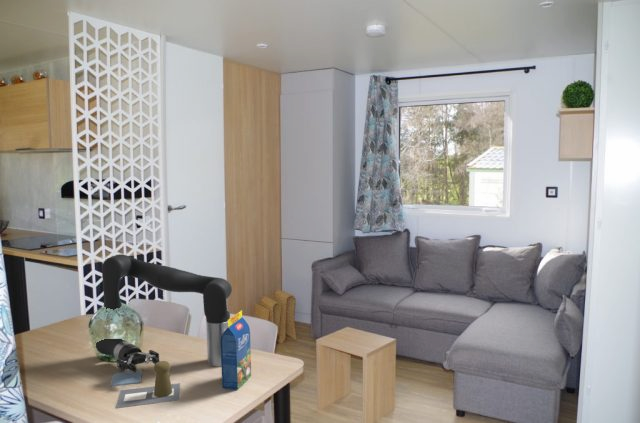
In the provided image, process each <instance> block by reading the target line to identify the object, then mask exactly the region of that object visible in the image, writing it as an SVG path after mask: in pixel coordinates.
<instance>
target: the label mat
mask: <svg viewBox="0 0 640 423" xmlns="http://www.w3.org/2000/svg"><path fill="white" fill-rule="evenodd" d="M171 388H172V393H171V394H170V395H168V396H165V397H156V396H155V395H154V389H155V385H152V386H144V387H138V388H130V389H121V390H120V392H119V395H118V397H117V398H118V399H117V402H116V406H115V409H121V408H128V407H136V406H143V405H144V406H145V405H151V404H158V403H166V402H167V403H168V402H173V401H174V402H175V401H180V399H181V398H180V392H181V391H180V389H181V383H179V382H178V383H171Z"/></svg>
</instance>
